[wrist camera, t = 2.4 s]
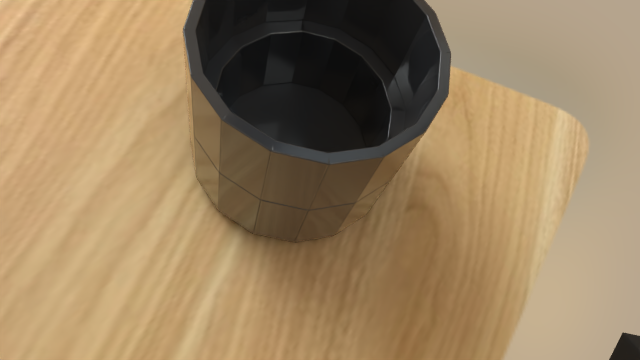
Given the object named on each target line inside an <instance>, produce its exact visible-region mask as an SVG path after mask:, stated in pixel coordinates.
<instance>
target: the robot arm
mask: <svg viewBox="0 0 640 360" xmlns="http://www.w3.org/2000/svg"><path fill="white" fill-rule="evenodd" d="M609 360H640V336H637V335H632V334H627V333H622V335H621V337H620V339H619V341H618V343H617V345H616V348H615V349H614V351H613V353H612V355H611V357H610V359H609Z"/></svg>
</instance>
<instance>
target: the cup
mask: <svg viewBox="0 0 640 360" xmlns="http://www.w3.org/2000/svg"><path fill="white" fill-rule="evenodd" d="M183 42H184V56H185V70H186V84H187V96H188V97H187V98H188V112H189V126H190V140H191V148H192V154H193V160H194V166H195V173H196V177H197V180H198V181H199V183H200V184H201V186H202V187H203V189H204V190H205V192H206V193H207V195H208V196H209V198H210V199H211V201H212V202H213V203H214V205H215V206H216V208H217V209H218V210H219V212H221V213H222V214H224V215H225V216H227V217H228V218H230V219H231V220H233V221H234V222H236V223H238V224H239V225H241V226H242V227H244V228H245V229H247V230H248V231H250V232H251V233H254V234H258V235H262V236H267V237H272V238H277V239H281V240H286V241H291V242H300V241H306V240H312V239H318V238H323V237H329V236H334V235H336V234H337V233H339V232H340V231H342V230H344V229H345V228H347V227H348V226H350V225H351V224H353V223H354V222H356V221H357V220H359V219H361V218H362V217H364V216H365V215H366V214H367V213H368V211H369V210H370V209H371V207H372V206H373V204H374V203H375V202H376V200H377V199H378V197H379V196H380V195H381V193H382V192H383V191H384V189H385V188H386V186H387V185H388V184H389V182H390V181H391V179H392V178H393V177H394V175H395V174H396V172H397V171H398V170H399V168H400V167H401V166H402V164H403V163H404V161H405V160H406V159H407V157H408V156H409V154H410V153H411V152H412V150H413V149H414V147H415V146H416V145H417V143H418V142H419V141H420V139H421V138H422V136H423V135H424V134H425V132H426V131H427V129H428V128H429V126H430V124H431V123H432V121H433V119H434V118H435V116H436V115H437V113H438V111H439V110H440V108H441V107H442V105H443V103H444V102H445V100H446V98H447V97H448V94H449V79H450V64H451V52H450V49H449V46H448V43H447V41H446V38H445V36H444V33H443V31H442V28H441V25H440V23H439V20H438V18H437V15H436V13H435V11H434V10H433V9H432V8H431V7H430V6H429V5H428V4H427V2H426V1H425V0H193V2H192V5H191V7H190V10H189V13H188V16H187V19H186V22H185V25H184V28H183Z"/></svg>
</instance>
